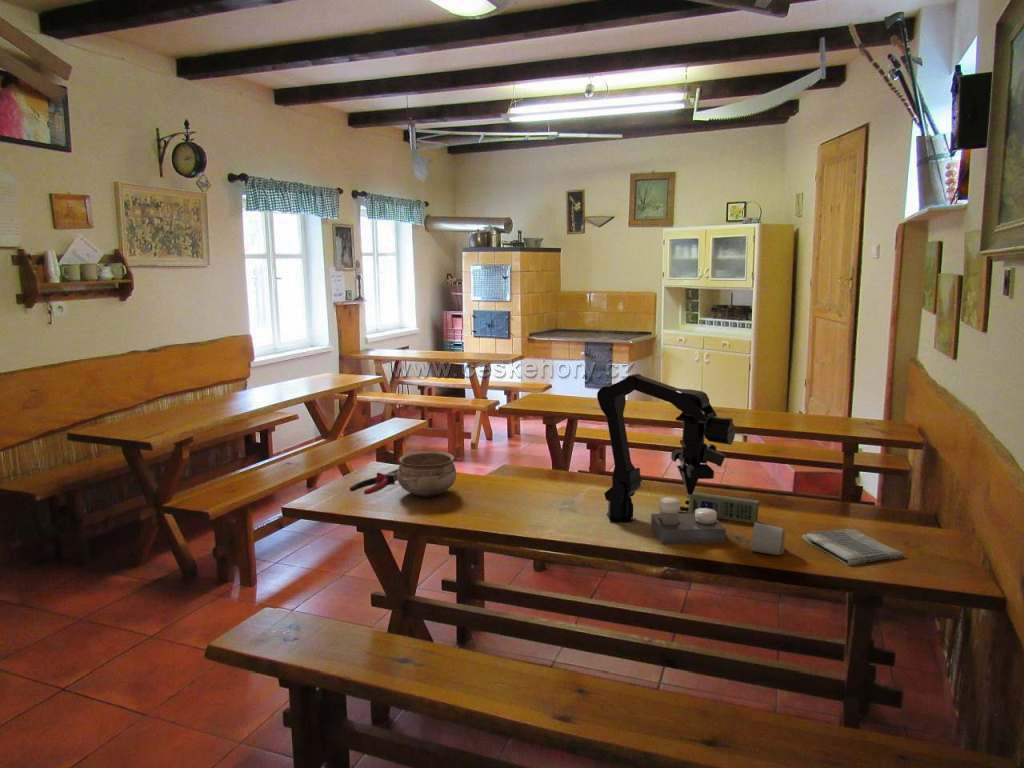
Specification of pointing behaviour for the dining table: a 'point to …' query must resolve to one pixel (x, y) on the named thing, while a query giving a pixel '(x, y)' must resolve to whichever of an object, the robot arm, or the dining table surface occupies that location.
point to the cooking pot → (426, 473)
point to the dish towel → (851, 546)
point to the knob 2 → (705, 516)
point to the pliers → (380, 478)
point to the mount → (687, 531)
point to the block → (767, 539)
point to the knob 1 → (669, 511)
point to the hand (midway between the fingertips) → (689, 494)
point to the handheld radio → (724, 507)
